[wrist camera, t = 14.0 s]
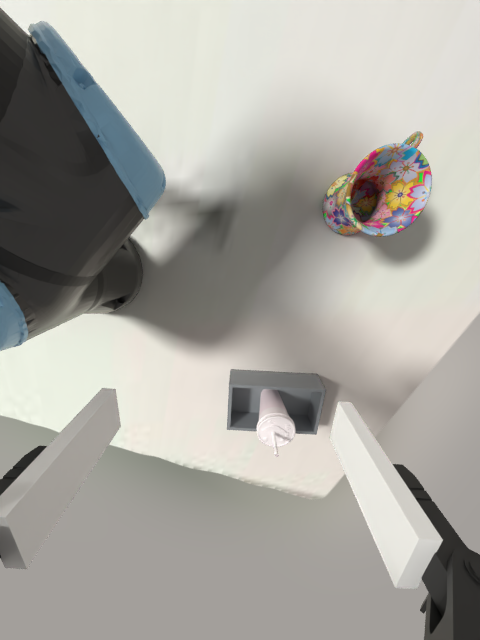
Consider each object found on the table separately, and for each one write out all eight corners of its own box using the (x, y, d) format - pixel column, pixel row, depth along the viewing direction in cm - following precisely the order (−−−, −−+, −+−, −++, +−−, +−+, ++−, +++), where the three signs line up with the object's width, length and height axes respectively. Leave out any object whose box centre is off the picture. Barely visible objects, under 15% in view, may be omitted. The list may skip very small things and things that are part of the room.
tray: (228, 411, 49) (227, 429, 44) (230, 369, 46) (229, 384, 41) (309, 415, 49) (316, 434, 44) (317, 374, 46) (325, 389, 41)
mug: (353, 248, 38) (393, 251, 28) (306, 218, 37) (330, 210, 27) (404, 174, 34) (470, 147, 24) (353, 138, 33) (402, 94, 23)
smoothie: (257, 378, 46) (263, 435, 32) (289, 384, 46) (308, 442, 33) (251, 405, 48) (254, 468, 34) (281, 410, 48) (295, 475, 35)
